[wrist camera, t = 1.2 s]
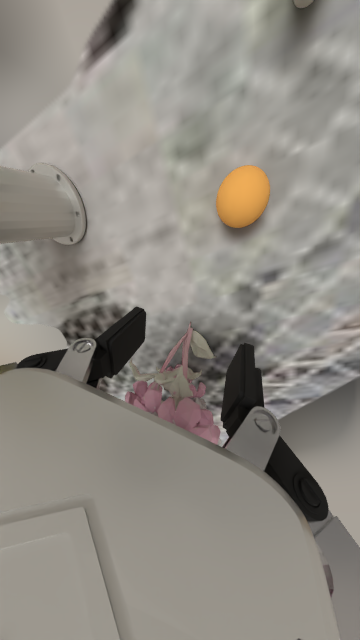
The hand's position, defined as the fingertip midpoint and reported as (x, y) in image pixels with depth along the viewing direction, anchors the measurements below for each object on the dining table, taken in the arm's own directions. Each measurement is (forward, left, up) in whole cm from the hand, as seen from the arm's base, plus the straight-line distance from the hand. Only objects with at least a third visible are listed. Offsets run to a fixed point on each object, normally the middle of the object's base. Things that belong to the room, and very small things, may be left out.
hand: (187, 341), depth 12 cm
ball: (0, +10, -17) cm, 19 cm away
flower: (-1, -23, -20) cm, 31 cm away
